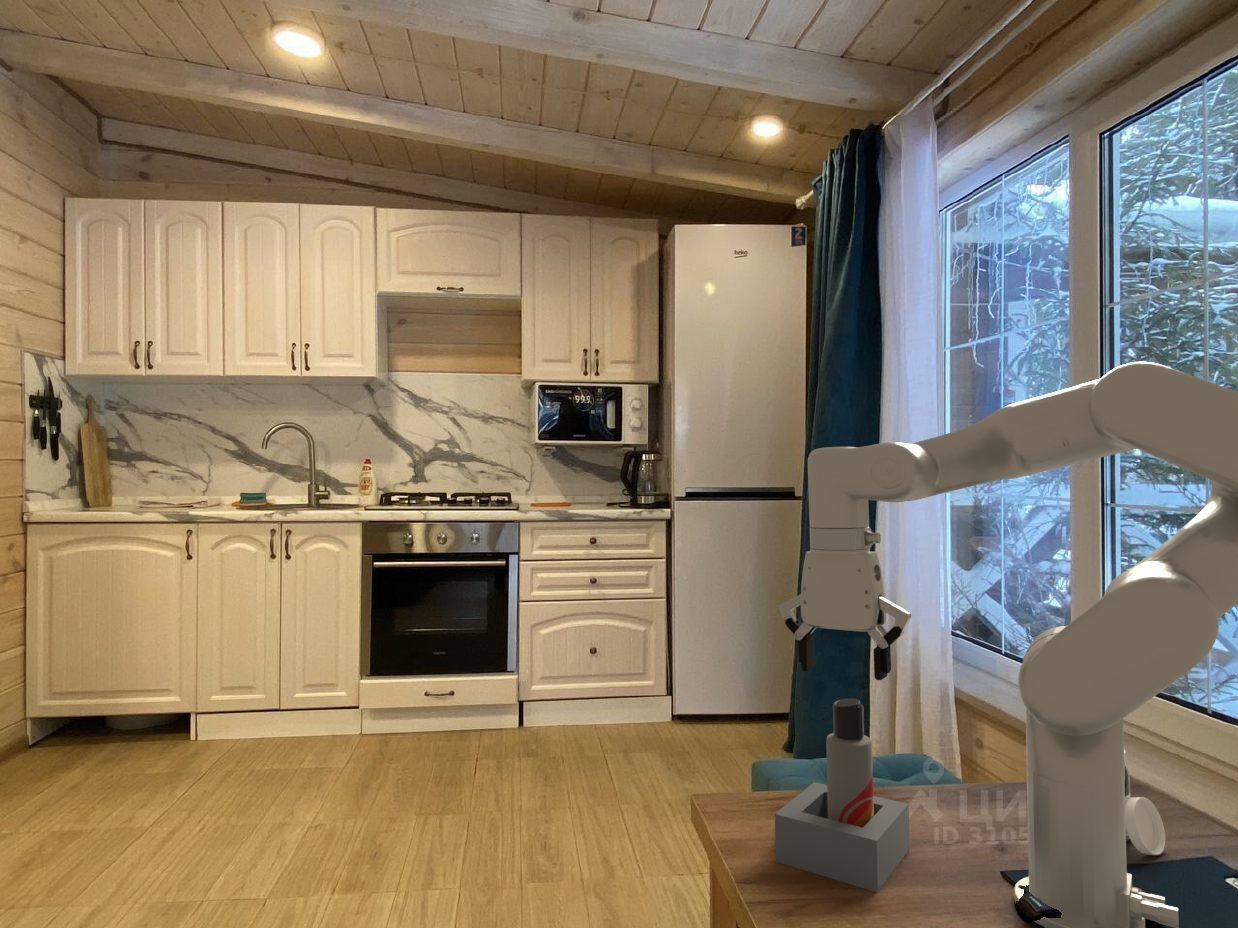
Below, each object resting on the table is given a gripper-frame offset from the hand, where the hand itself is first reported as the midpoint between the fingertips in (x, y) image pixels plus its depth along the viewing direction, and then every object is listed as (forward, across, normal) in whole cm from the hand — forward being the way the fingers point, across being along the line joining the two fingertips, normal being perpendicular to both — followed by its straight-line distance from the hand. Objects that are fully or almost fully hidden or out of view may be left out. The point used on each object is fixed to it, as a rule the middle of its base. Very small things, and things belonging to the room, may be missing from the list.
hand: (843, 673), depth 101 cm
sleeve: (+24, +1, 0) cm, 24 cm away
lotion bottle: (+24, 0, 0) cm, 24 cm away
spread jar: (+24, -27, -26) cm, 45 cm away
